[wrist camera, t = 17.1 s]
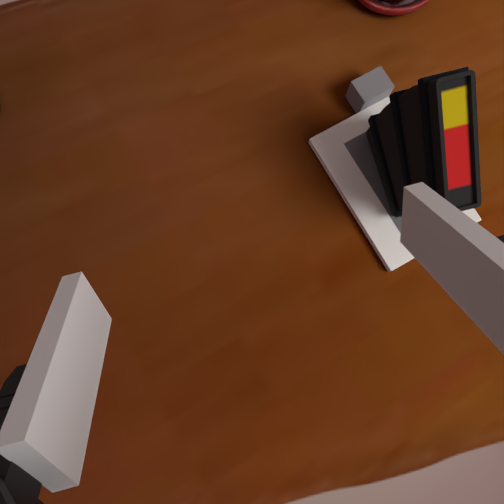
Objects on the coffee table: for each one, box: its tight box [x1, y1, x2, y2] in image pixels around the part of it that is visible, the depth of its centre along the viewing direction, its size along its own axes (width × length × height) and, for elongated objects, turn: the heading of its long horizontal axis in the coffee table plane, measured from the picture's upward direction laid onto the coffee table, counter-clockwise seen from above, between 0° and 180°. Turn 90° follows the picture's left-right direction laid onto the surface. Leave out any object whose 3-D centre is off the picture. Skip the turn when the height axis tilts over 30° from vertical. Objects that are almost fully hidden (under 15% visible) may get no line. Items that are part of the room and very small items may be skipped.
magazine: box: [366, 67, 481, 218], centre depth 36 cm, size 4×13×15 cm, turn 14°
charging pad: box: [308, 66, 482, 272], centre depth 41 cm, size 21×12×3 cm, turn 29°
